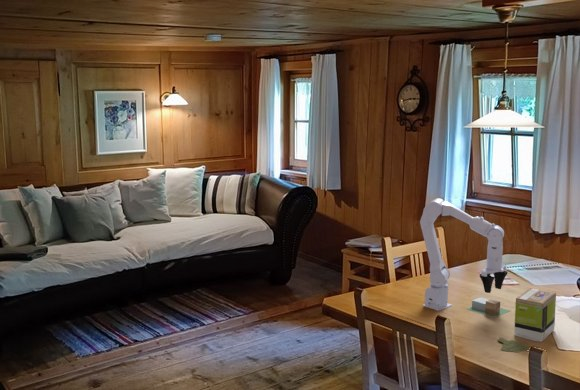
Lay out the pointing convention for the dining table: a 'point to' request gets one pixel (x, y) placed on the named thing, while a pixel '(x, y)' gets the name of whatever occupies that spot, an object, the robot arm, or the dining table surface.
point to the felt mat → (502, 311)
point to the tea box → (535, 314)
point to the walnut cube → (492, 307)
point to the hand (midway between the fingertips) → (492, 290)
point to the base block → (479, 303)
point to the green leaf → (513, 345)
